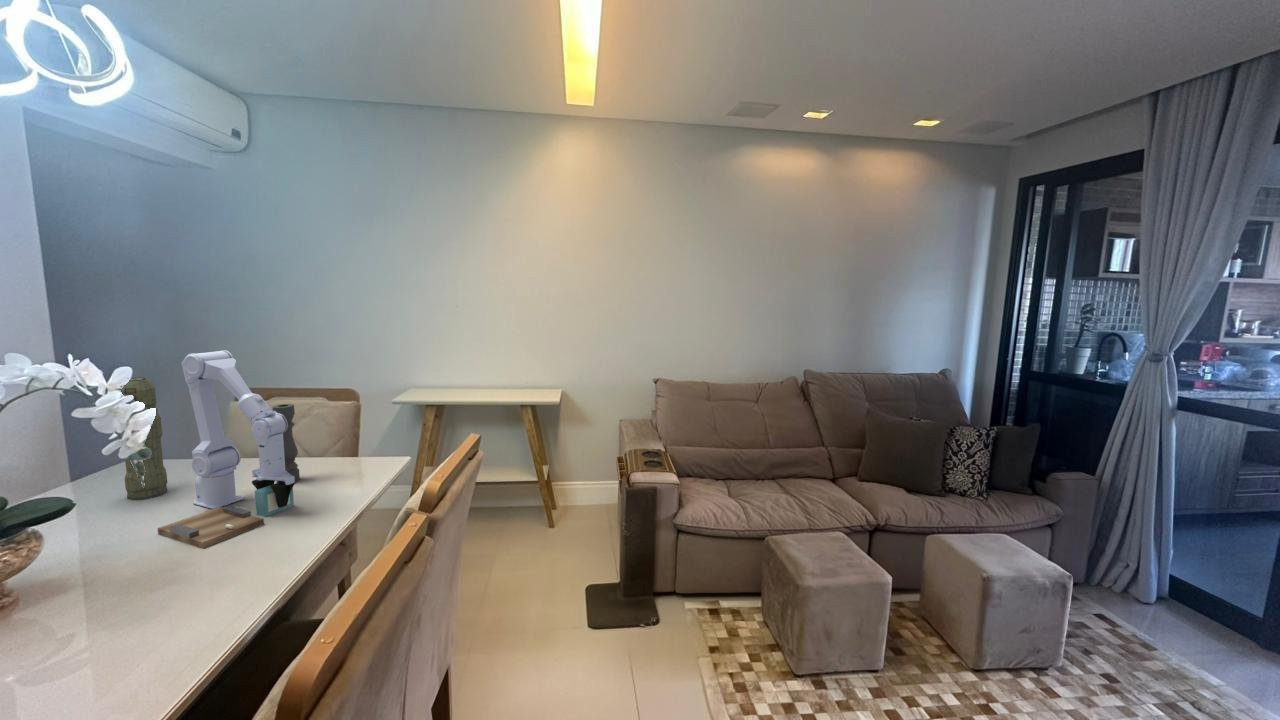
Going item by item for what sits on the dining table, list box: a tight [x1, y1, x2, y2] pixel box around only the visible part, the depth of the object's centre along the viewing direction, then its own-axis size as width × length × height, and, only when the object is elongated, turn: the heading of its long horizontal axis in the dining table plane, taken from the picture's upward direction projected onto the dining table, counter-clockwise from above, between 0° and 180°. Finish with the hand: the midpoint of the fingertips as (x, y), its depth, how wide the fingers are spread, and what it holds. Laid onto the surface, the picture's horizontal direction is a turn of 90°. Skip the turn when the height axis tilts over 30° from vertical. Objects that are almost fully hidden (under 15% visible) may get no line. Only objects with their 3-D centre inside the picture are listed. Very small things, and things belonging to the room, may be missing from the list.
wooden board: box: [157, 505, 265, 549], centre depth 131 cm, size 18×14×3 cm
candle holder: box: [271, 403, 301, 483], centre depth 162 cm, size 6×6×25 cm
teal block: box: [254, 485, 295, 518], centre depth 142 cm, size 4×8×7 cm, turn 159°
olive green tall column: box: [121, 377, 169, 501], centre depth 148 cm, size 9×12×35 cm
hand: (275, 504), depth 143 cm, fingers open, 6 cm apart
